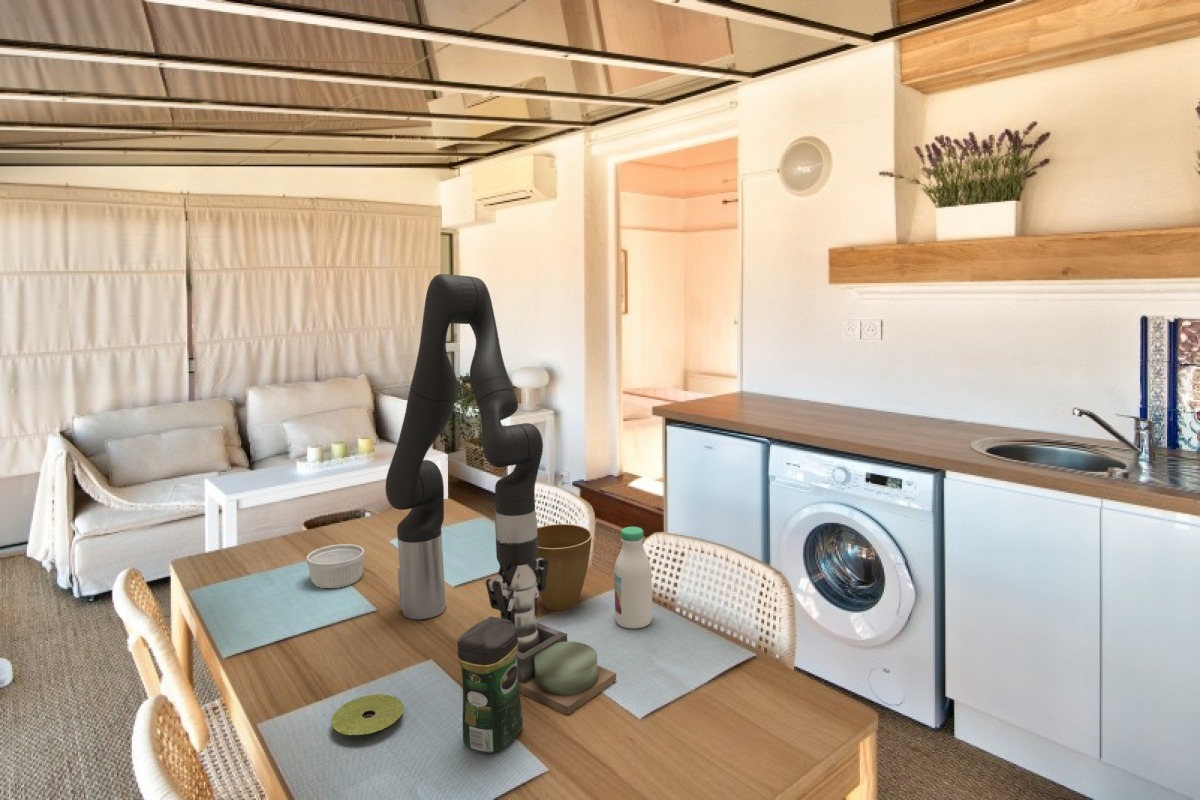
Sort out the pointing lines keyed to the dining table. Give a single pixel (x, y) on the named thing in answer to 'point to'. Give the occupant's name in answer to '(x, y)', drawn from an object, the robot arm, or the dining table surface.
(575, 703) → the stand
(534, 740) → the dining table surface
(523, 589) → the plastic bottle
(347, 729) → the green sanding disc
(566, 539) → the plant pot
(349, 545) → the ramekin
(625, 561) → the milk bottle
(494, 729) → the coffee jar
